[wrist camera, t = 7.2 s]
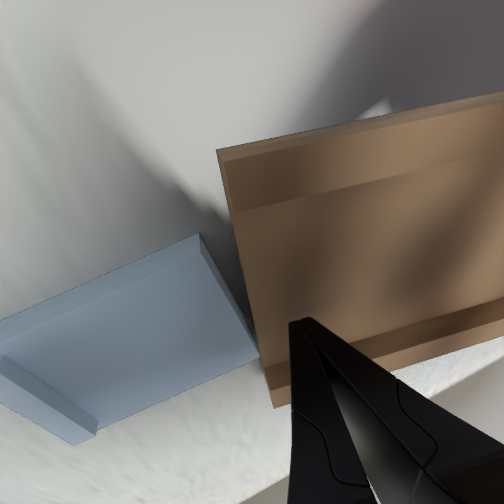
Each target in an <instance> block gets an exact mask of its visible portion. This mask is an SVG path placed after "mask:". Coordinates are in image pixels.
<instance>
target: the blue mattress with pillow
mask: <svg viewBox="0 0 504 504" xmlns="http://www.w3.org/2000/svg"><path fill="white" fill-rule="evenodd" d="M259 357H260V354H259V351H258V347H257V344H256V341H255V337H254V334H253V331H252V330H251V328H250V326H249V324H248V322H247V320H246V319H245V317H244V315H243V313H242V311H241V310H240V308H239V306H238V304H237V302H236V300H235V299H234V297H233V295H232V293H231V291H230V290H229V288H228V286H227V284H226V282H225V280H224V279H223V277H222V275H221V273H220V271H219V270H218V268H217V266H216V264H215V262H214V260H213V259H212V257H211V255H210V253H209V251H208V250H207V248H206V246H205V244H204V242H203V240H202V239H201V237H200V235H199V233H197V234H195V235H192V236H190V237H188V238H186V239H183V240H181V241H179V242H177V243H174V244H172V245H170V246H168V247H165V248H163V249H161V250H159V251H156V252H154V253H152V254H150V255H147V256H145V257H143V258H141V259H138V260H136V261H134V262H132V263H129V264H127V265H125V266H123V267H120V268H118V269H116V270H114V271H111V272H109V273H107V274H105V275H102V276H100V277H98V278H96V279H93V280H91V281H89V282H87V283H84V284H82V285H80V286H78V287H75V288H73V289H71V290H69V291H66V292H64V293H62V294H60V295H57V296H55V297H53V298H51V299H48V300H46V301H44V302H42V303H39V304H37V305H35V306H33V307H30V308H28V309H26V310H24V311H21V312H19V313H17V314H15V315H12V316H10V317H8V318H5V319H3V320H1V321H0V403H1V404H3V405H4V406H6V407H8V408H9V409H11V410H13V411H15V412H16V413H18V414H20V415H21V416H23V417H25V418H27V419H28V420H30V421H32V422H33V423H35V424H37V425H39V426H40V427H42V428H44V429H46V430H47V431H49V432H51V433H52V434H54V435H56V436H58V437H59V438H61V439H63V440H64V441H66V442H68V443H70V444H71V445H73V446H74V445H76V444H78V443H80V442H83V441H85V440H87V439H89V438H92V437H94V436H95V435H96V431H97V430H99V429H101V428H104V427H106V426H108V425H110V424H113V423H115V422H117V421H119V420H121V419H124V418H126V417H128V416H130V415H133V414H135V413H137V412H139V411H141V410H144V409H146V408H148V407H150V406H153V405H155V404H157V403H159V402H162V401H164V400H166V399H168V398H170V397H173V396H175V395H177V394H179V393H182V392H184V391H186V390H188V389H190V388H193V387H195V386H197V385H199V384H202V383H204V382H206V381H208V380H210V379H213V378H215V377H217V376H219V375H222V374H224V373H226V372H228V371H230V370H233V369H235V368H237V367H239V366H242V365H244V364H246V363H248V362H251V361H253V360H255V359H257V358H259Z"/></svg>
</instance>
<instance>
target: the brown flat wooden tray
mask: <svg viewBox="0 0 504 504" xmlns="http://www.w3.org/2000/svg"><path fill="white" fill-rule="evenodd" d="M216 153H217V158H218V162H219V167H220V171H221V176H222V181H223V186H224V190H225V195H226V200H227V204H228V209H229V214H230V218H231V223H232V228H233V232H234V237H235V242H236V246H237V251H238V256H239V260H240V265H241V270H242V274H243V279H244V284H245V288H246V293H247V298H248V302H249V307H250V312H251V316H252V321H253V326H254V330H255V335H256V340H257V344H258V349H259V354H260V358H261V363H262V368H263V372H264V376H265V380H266V383H267V386H268V390H269V393H270V397H271V400H272V403H273V407H274V409H275V408H278V407H281V406H284V405H287V404H290V403H291V390H290V362H289V334H288V323H289V322H291V321H294V320H299V321H300V319H302V318H305V317H312V318H314V319H315V320H316V321H318V322H319V323H321V324H322V325H323V326H325V327H326V328H328V329H329V330H330V331H332V332H333V333H335V334H336V335H337V336H339V337H340V338H342V339H343V340H345V341H346V342H347V343H349V344H350V345H352V346H353V347H354V348H356V349H357V350H359V351H360V352H361V353H363V354H364V355H366V356H367V357H368V358H370V359H371V360H373V361H374V362H375V363H377V364H378V365H380V366H381V367H383V368H384V369H385V370H387V371H388V372H391V371H394V370H397V369H401V368H404V367H407V366H410V365H413V364H416V363H419V362H423V361H426V360H429V359H432V358H435V357H438V356H442V355H445V354H448V353H451V352H454V351H457V350H460V349H464V348H467V347H470V346H473V345H476V344H479V343H483V342H486V341H489V340H492V339H495V338H498V337H501V336H504V91H499V92H494V93H490V94H485V95H480V96H475V97H470V98H465V99H460V100H456V101H451V102H446V103H441V104H436V105H431V106H426V107H421V108H416V109H412V110H407V111H402V112H397V113H392V114H387V115H382V116H377V117H372V118H368V119H363V120H358V121H353V122H348V123H343V124H338V125H333V126H329V127H324V128H319V129H314V130H309V131H305V132H299V133H294V134H290V135H285V136H280V137H275V138H270V139H265V140H261V141H256V142H251V143H246V144H241V145H237V146H231V147H227V148H221V149H216Z"/></svg>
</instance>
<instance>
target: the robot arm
mask: <svg viewBox="0 0 504 504" xmlns="http://www.w3.org/2000/svg"><path fill="white" fill-rule="evenodd" d="M288 334H289V362H290V390H291V422H292V446H291V462H290V474H289V485H288V496H287V504H378V503H377V501H376V499H375V497H374V494H373V492H372V489H371V488H370V484H369V481H370V483H371V485H372V487H373V489H374V491H375V493H376V495H377V497H378V499H379V501H380V502H381V504H504V444H502V443H500V442H499V441H497V440H495V439H494V438H492V437H490V436H488V435H487V434H485V433H483V432H482V431H480V430H478V429H477V428H475V427H473V426H471V425H470V424H468V423H467V422H465V421H463V420H462V419H460V418H458V417H457V416H455V415H453V414H451V413H450V412H448V411H446V410H445V409H443V408H441V407H440V406H438V405H437V404H435V403H433V402H432V401H430V400H429V399H427V398H426V397H424V396H423V395H421V394H420V393H418V392H417V391H415V390H414V389H412V388H411V387H409V386H408V385H407V384H405V383H404V382H402V381H401V380H400V379H396V377H395V376H394V375H392V374H391V373H390V372H388V371H387V370H385V369H384V368H383V367H381V366H380V365H378V364H377V363H375V362H374V361H373V360H371V359H370V358H368V357H367V356H366V355H364V354H363V353H361V352H360V351H359V350H357V349H356V348H354V347H353V346H352V345H350V344H349V343H347V342H346V341H345V340H343V339H342V338H340V337H339V336H337V335H336V334H335V333H333V332H332V331H330V330H329V329H328V328H326V327H325V326H323V325H322V324H321V323H319V322H318V321H316V320H315V319H314V318H312V317H305V318H302V319H300V321H299V320H294V321H291V322H289V323H288ZM367 477H368V479H369V481H368V479H367Z"/></svg>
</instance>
